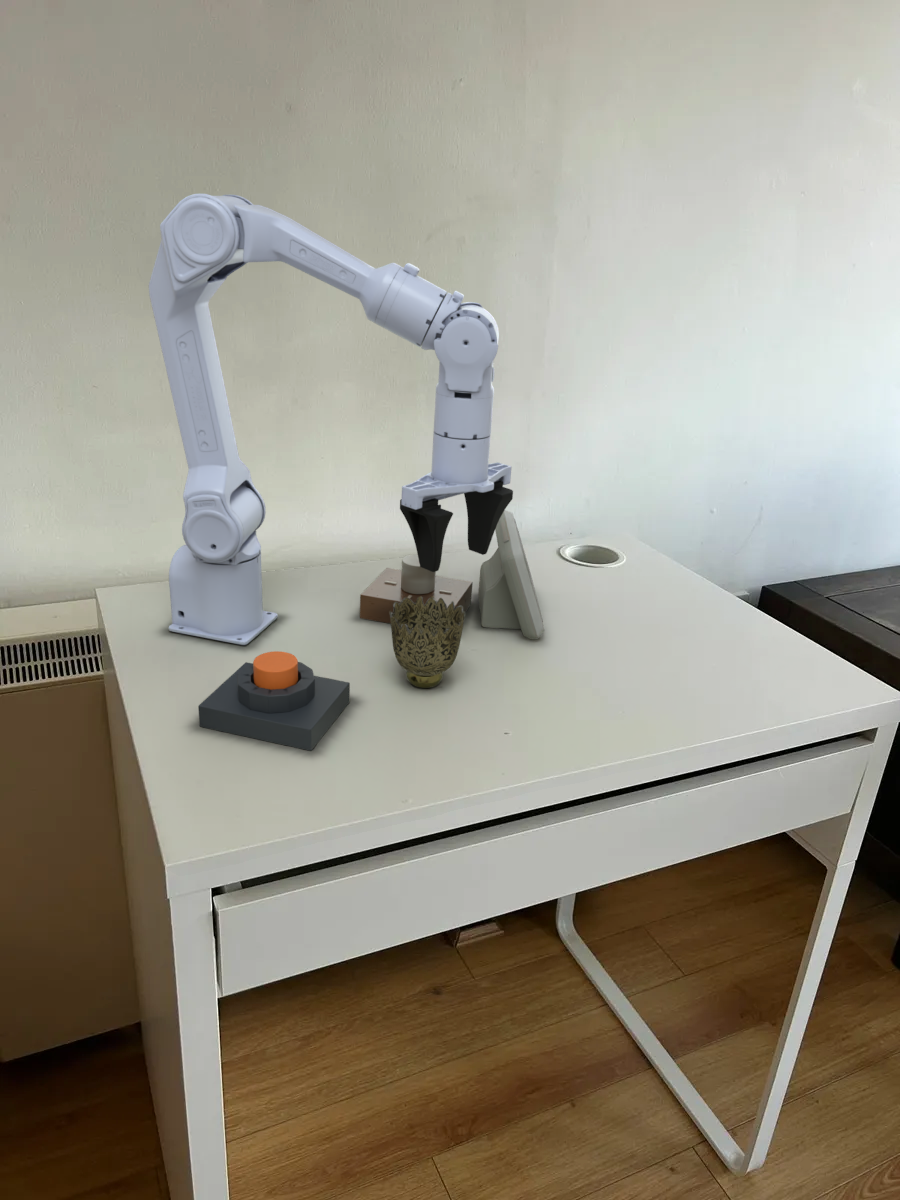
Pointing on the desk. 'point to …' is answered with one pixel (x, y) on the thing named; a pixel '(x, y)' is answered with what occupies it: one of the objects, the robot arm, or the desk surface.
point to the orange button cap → (275, 670)
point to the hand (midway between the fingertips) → (454, 560)
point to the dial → (416, 576)
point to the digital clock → (509, 585)
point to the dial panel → (408, 594)
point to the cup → (426, 638)
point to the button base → (276, 708)
